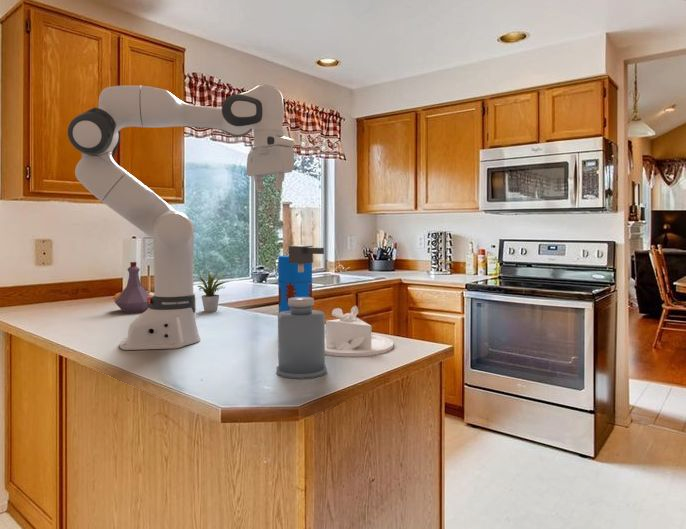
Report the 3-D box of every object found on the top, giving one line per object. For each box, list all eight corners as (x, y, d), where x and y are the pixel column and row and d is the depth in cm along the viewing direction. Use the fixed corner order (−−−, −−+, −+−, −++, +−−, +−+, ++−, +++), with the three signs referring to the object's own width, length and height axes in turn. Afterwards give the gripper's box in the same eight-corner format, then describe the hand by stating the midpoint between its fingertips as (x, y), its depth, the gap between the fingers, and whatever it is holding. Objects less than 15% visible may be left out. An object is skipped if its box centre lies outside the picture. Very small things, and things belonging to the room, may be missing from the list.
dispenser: (265, 372, 120) (264, 299, 119) (300, 362, 130) (299, 293, 128) (303, 382, 113) (302, 304, 111) (337, 370, 122) (336, 298, 121)
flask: (163, 310, 210) (162, 262, 208) (124, 315, 197) (122, 264, 196) (144, 306, 221) (142, 260, 219) (106, 311, 208) (104, 262, 207)
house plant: (211, 315, 198) (210, 273, 196) (184, 312, 204) (183, 272, 202) (234, 309, 211) (233, 270, 209) (208, 307, 216) (207, 269, 215)
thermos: (307, 337, 158) (306, 257, 156) (274, 335, 160) (273, 256, 158) (315, 330, 169) (315, 255, 167) (285, 329, 171) (284, 254, 169)
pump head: (288, 272, 119) (288, 245, 118) (300, 271, 122) (300, 245, 122) (316, 274, 114) (316, 246, 113) (327, 273, 117) (327, 246, 116)
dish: (291, 345, 150) (291, 307, 149) (357, 333, 165) (357, 299, 164) (342, 362, 130) (342, 319, 129) (411, 348, 145) (411, 309, 144)
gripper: (241, 145, 155) (241, 191, 156) (279, 137, 140) (279, 187, 141) (258, 148, 160) (259, 192, 161) (297, 140, 144) (297, 188, 145)
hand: (268, 190), depth 151 cm, fingers open, 8 cm apart
